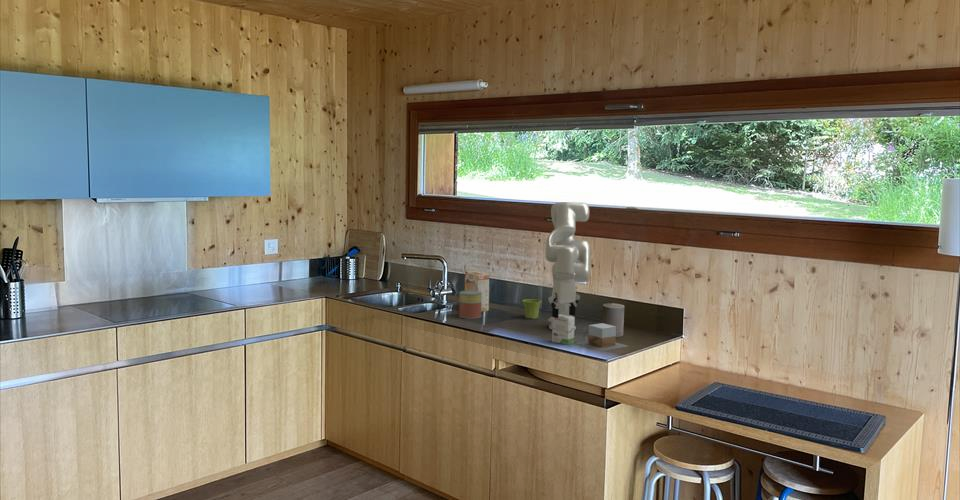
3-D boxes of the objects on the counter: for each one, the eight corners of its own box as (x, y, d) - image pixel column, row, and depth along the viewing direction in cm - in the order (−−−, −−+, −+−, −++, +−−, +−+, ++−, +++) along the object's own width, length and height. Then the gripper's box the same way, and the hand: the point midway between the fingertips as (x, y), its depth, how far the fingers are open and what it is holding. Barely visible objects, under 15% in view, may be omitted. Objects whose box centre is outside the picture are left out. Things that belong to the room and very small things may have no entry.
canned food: (483, 314, 365) (484, 291, 364) (478, 319, 354) (478, 295, 353) (462, 313, 368) (462, 290, 367) (456, 317, 357) (456, 293, 356)
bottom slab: (588, 343, 306) (588, 334, 305) (601, 341, 310) (601, 332, 310) (601, 347, 299) (602, 338, 299) (615, 345, 304) (615, 335, 303)
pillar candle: (597, 333, 327) (598, 301, 325) (615, 332, 331) (616, 299, 329) (609, 338, 318) (610, 305, 316) (627, 337, 322) (629, 303, 320)
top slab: (588, 334, 305) (588, 325, 305) (601, 332, 310) (602, 323, 309) (602, 338, 299) (602, 328, 298) (615, 335, 303) (616, 326, 303)
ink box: (574, 343, 307) (575, 316, 306) (567, 345, 303) (568, 318, 302) (558, 340, 313) (559, 313, 311) (551, 342, 309) (552, 315, 308)
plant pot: (518, 317, 361) (518, 300, 360) (532, 315, 367) (532, 298, 366) (530, 320, 353) (530, 303, 353) (544, 318, 359) (545, 301, 358)
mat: (574, 344, 307) (574, 343, 306) (601, 339, 316) (601, 338, 316) (602, 351, 294) (602, 351, 294) (629, 346, 303) (629, 345, 303)
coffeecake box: (463, 307, 385) (464, 270, 383) (475, 306, 389) (476, 270, 387) (477, 312, 372) (477, 274, 370) (489, 311, 376) (489, 273, 374)
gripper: (573, 274, 313) (572, 313, 314) (543, 276, 303) (542, 316, 304) (586, 276, 307) (584, 316, 308) (555, 278, 297) (554, 319, 298)
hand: (563, 316), depth 306 cm, fingers open, 9 cm apart
